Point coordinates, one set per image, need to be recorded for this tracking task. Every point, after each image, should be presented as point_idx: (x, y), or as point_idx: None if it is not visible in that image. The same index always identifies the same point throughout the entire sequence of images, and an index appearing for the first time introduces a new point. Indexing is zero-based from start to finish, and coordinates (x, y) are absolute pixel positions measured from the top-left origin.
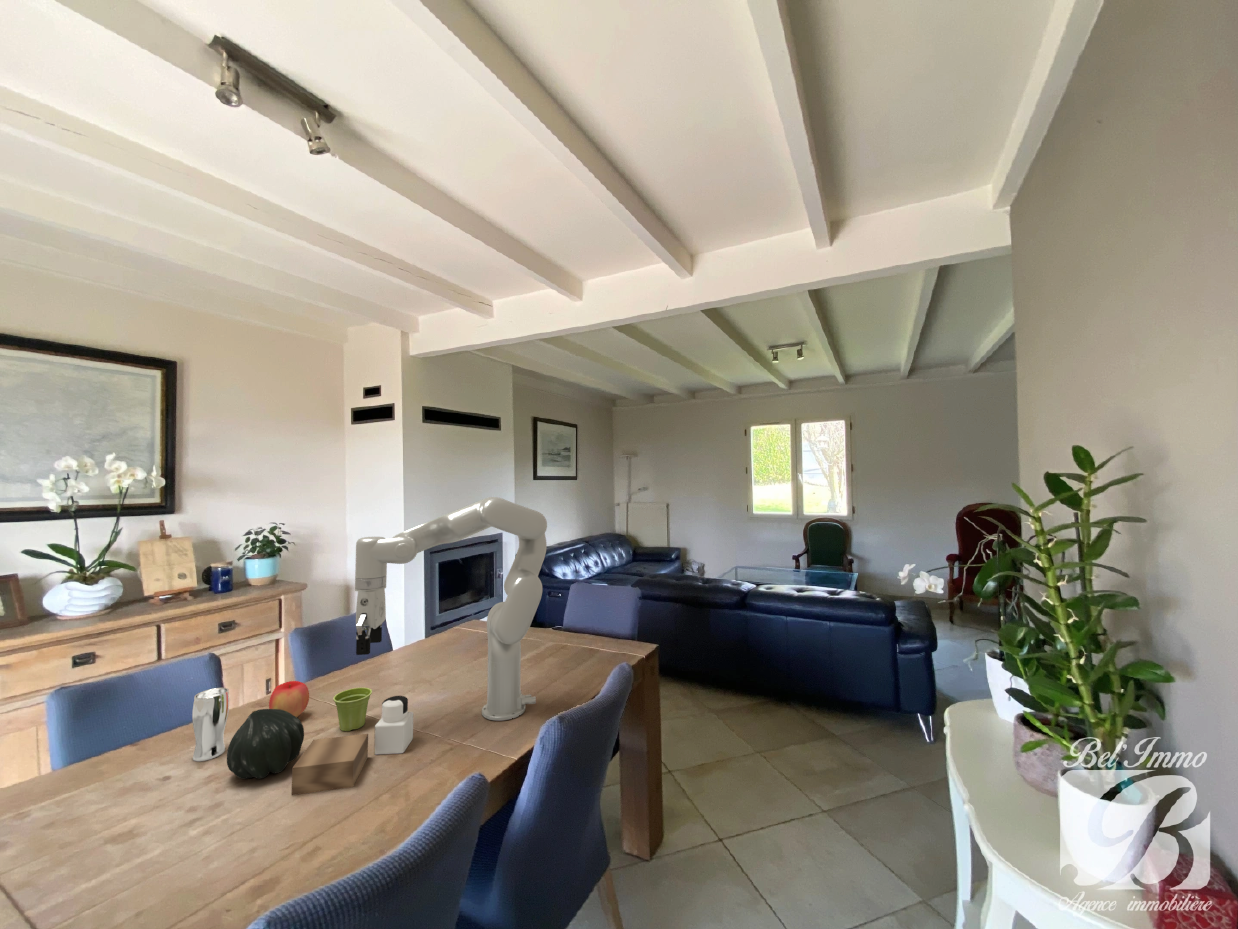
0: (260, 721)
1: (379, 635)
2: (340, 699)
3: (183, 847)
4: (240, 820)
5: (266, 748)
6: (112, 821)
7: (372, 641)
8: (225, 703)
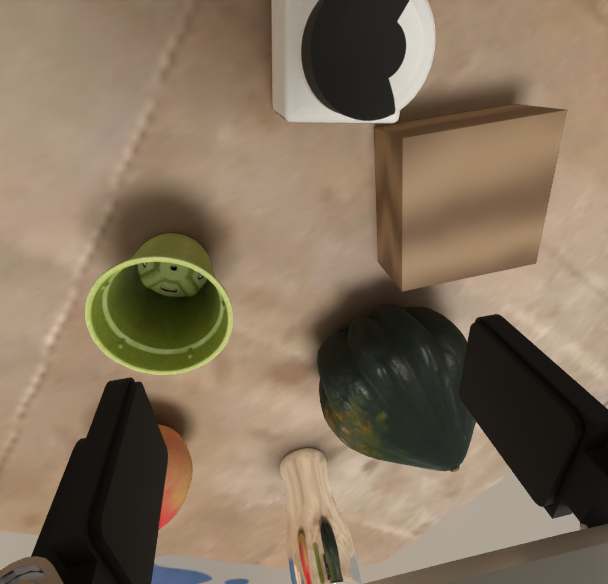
0: (472, 429)
1: (128, 445)
2: (156, 352)
3: (577, 320)
4: (542, 283)
5: None
6: (470, 443)
7: (160, 441)
8: (327, 552)
